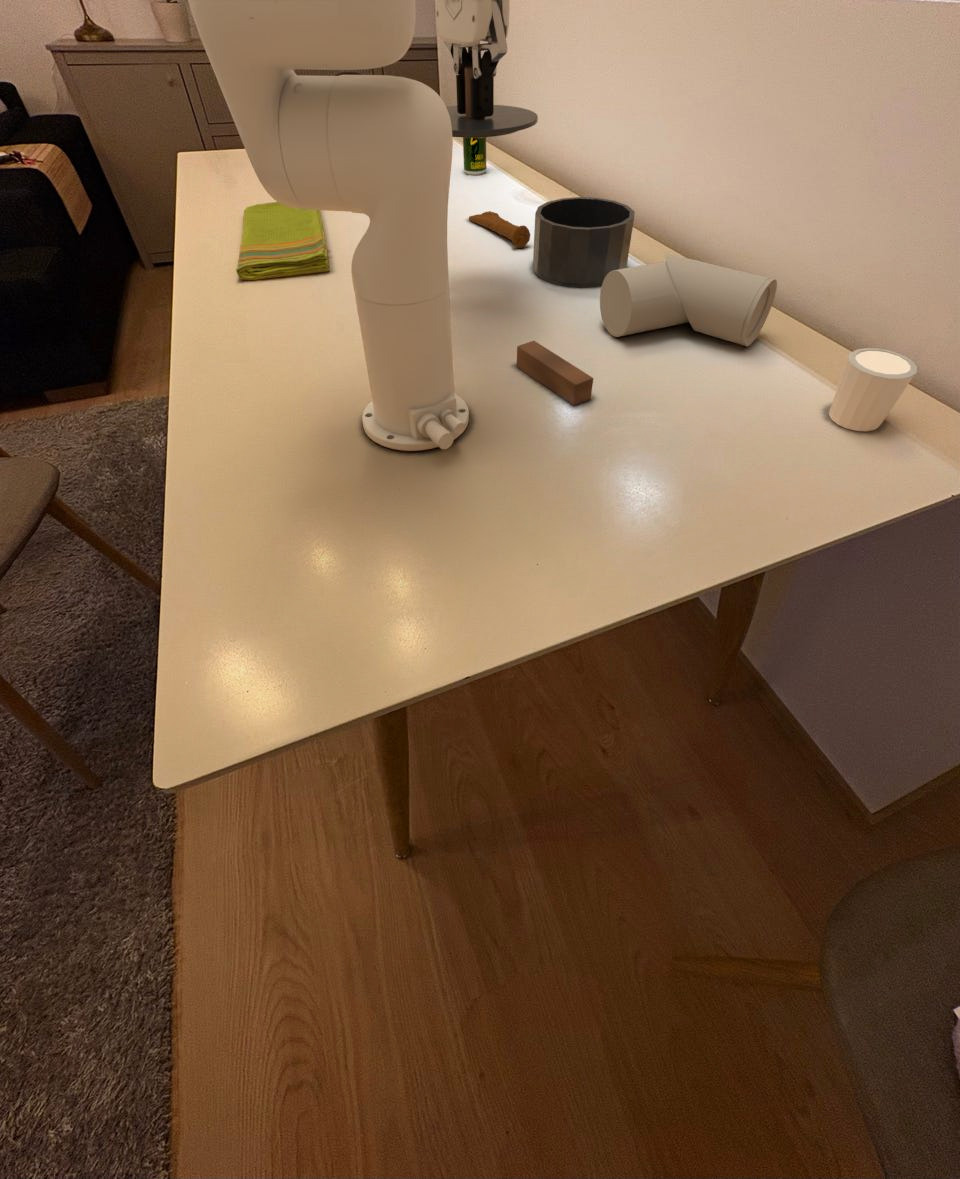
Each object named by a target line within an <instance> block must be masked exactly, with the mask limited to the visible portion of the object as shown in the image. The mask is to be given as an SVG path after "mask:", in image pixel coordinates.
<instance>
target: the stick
mask: <svg viewBox="0 0 960 1179" xmlns="http://www.w3.org/2000/svg"><path fill="white" fill-rule="evenodd" d="M516 367H517V368H519V369H520V370H521V371H523V372H524V373H526V374H527V375H529V376H530V377H531V378H533V379H534V380H536V381H537V382H538V383H540V384H542V385H543V386H545V387H546V388H548V389H549V390H550V391H552V392H553V393H555V394H556V395H557V396H559V397H561V398H562V399H563V400H564V401H566V402H568V404H570V405H572V406H576V405H578V404H582V403H584V402H586V401H589V400H591V398H592V393H593V385H594V377H592V376H591V375H589V374H588V373H586V372H585V371H583V370H581V369H580V368H578V367H577V366H575V365H573V364H572V363H571V362H569V361H567V360H566V359H564V358H563V357H561V356H559V355H558V354H556V353H555V352H554V351H552V350H550V349H548V348H546V347H545V346H543V345H542V344H540V343H539V342H538V341H535V340H532V341H528V342H526V343H522V344H519V345H517V346H516Z"/></svg>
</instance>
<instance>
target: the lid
mask: <svg viewBox="0 0 960 1179" xmlns="http://www.w3.org/2000/svg"><path fill="white" fill-rule="evenodd" d="M470 78H474V75H473V66H467V67H465V107H466V114H459V113H458V112H457V105H448V106H446V108H447V110H448V113H449V116H450V120H451V126H452V138H462V139H463V138H481V137H486V138H492V137H501V136H507V135H511V134H514V133H517V132H519V131H523V130H526V129H530V128H532V127H533V126H536V125H537V123H538V120H539V116H538V114H537V113H536V112H535V111H533V110H530V109H527V108H523V107H518V106H511V105H503V104H502V105H501V104H494V112H493V115H492V116H489V117H482V118H472V116H471V88H470Z"/></svg>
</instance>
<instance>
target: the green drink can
mask: <svg viewBox="0 0 960 1179" xmlns="http://www.w3.org/2000/svg"><path fill="white" fill-rule="evenodd" d="M462 149H463V150H462V152H463V153H462V154H463V170H464V173H465V174H466V175H468V176H480V175H484V174H485V173H486V171H487V137H481V138H463V137H462Z"/></svg>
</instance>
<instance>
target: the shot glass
mask: <svg viewBox="0 0 960 1179" xmlns="http://www.w3.org/2000/svg"><path fill="white" fill-rule="evenodd" d="M844 366H845V367H844V369H843V372H842V374H841V377H840V380H839V383H838V386H837V389H836V391H835V394H834V397H833V400H832V403H831V406H830V408H829V411H828V416H829V418H830V420H831V421H832V422H834V423H835V424H836V425H838V426H840V427H842V428H844V429H847V430H851V431H855V432H871V431H875V430H876V429H878V428H880V426H881V425H882V423H883V422H884V421H885V419H886V417H887V416H888V415H889V413H890V412H891V410H892V409H893V408H894V406H895V405H896V403H897V402H898V400H899V399H900V397H901V396H902V394H903V393H904V392H905V390H906V389H907V387H908V386H909V384H910V383H911V382H912V380H913V378H914V377H915V375H916V374H917V372H918V371H917V370H918V366H917V365H916V364H915V362H914V361H913V360H912V359H910V358H909V357H907V356H905V355H904V354H901V353H899V352H896V351H893V350H888V349H883V348H875V347H863V348H859V349H855V350H853V351H852V352H850V353H849V354H848V358H847V360H846V364H845V365H844Z"/></svg>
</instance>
